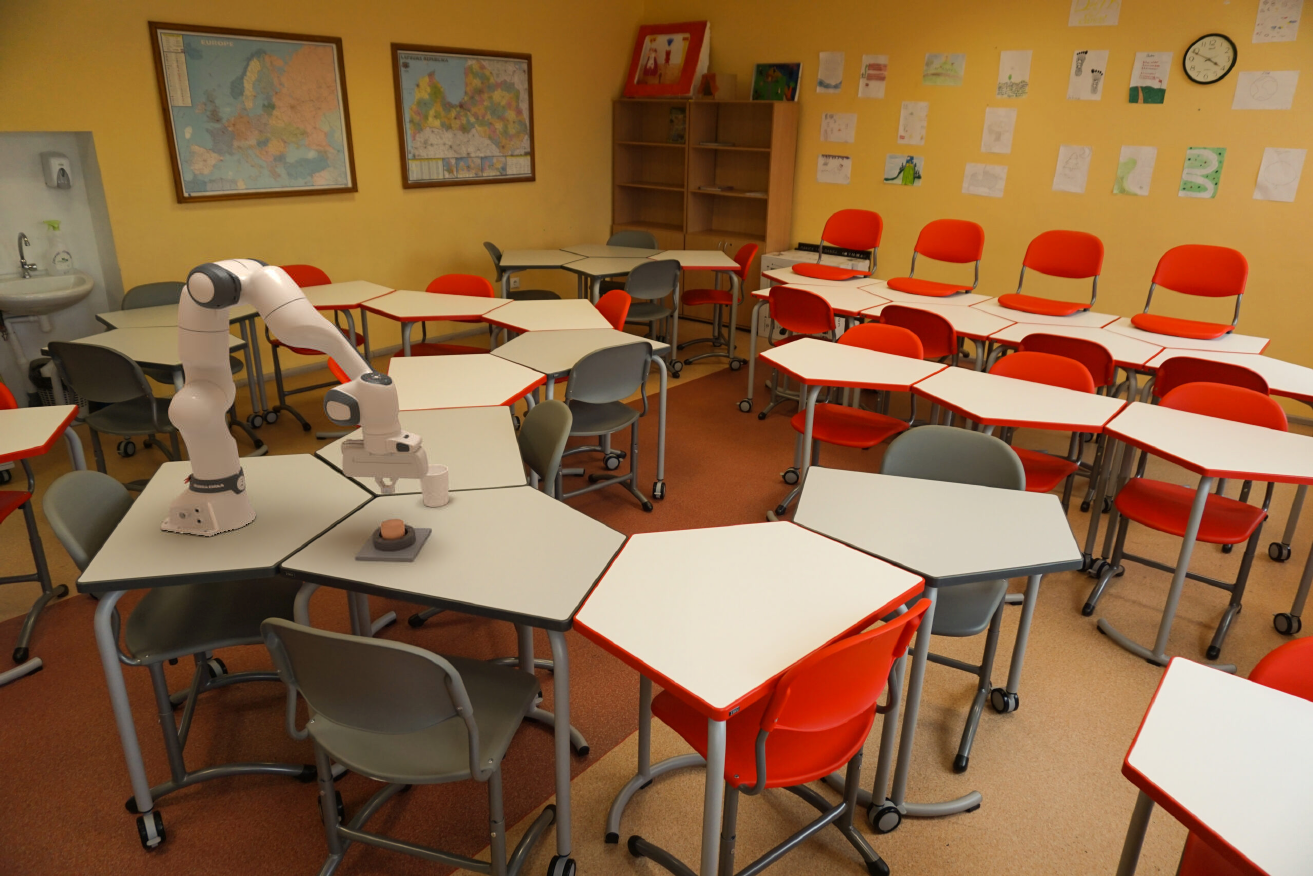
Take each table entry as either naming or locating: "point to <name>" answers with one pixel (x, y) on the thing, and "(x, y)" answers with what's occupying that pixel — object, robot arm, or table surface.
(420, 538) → the square flange plate
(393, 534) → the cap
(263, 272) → the robot arm
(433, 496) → the white cup
